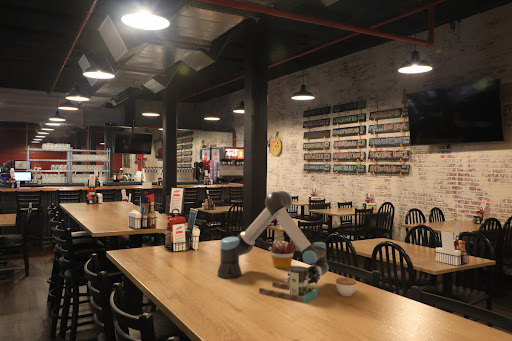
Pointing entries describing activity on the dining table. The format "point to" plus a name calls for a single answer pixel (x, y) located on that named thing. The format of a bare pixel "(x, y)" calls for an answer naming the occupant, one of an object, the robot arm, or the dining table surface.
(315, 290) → the bar
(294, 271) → the coffee can
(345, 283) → the lidded jar
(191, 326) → the dining table surface
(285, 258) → the bucket of meat
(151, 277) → the dining table surface
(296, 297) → the guide rails
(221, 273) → the robot arm
